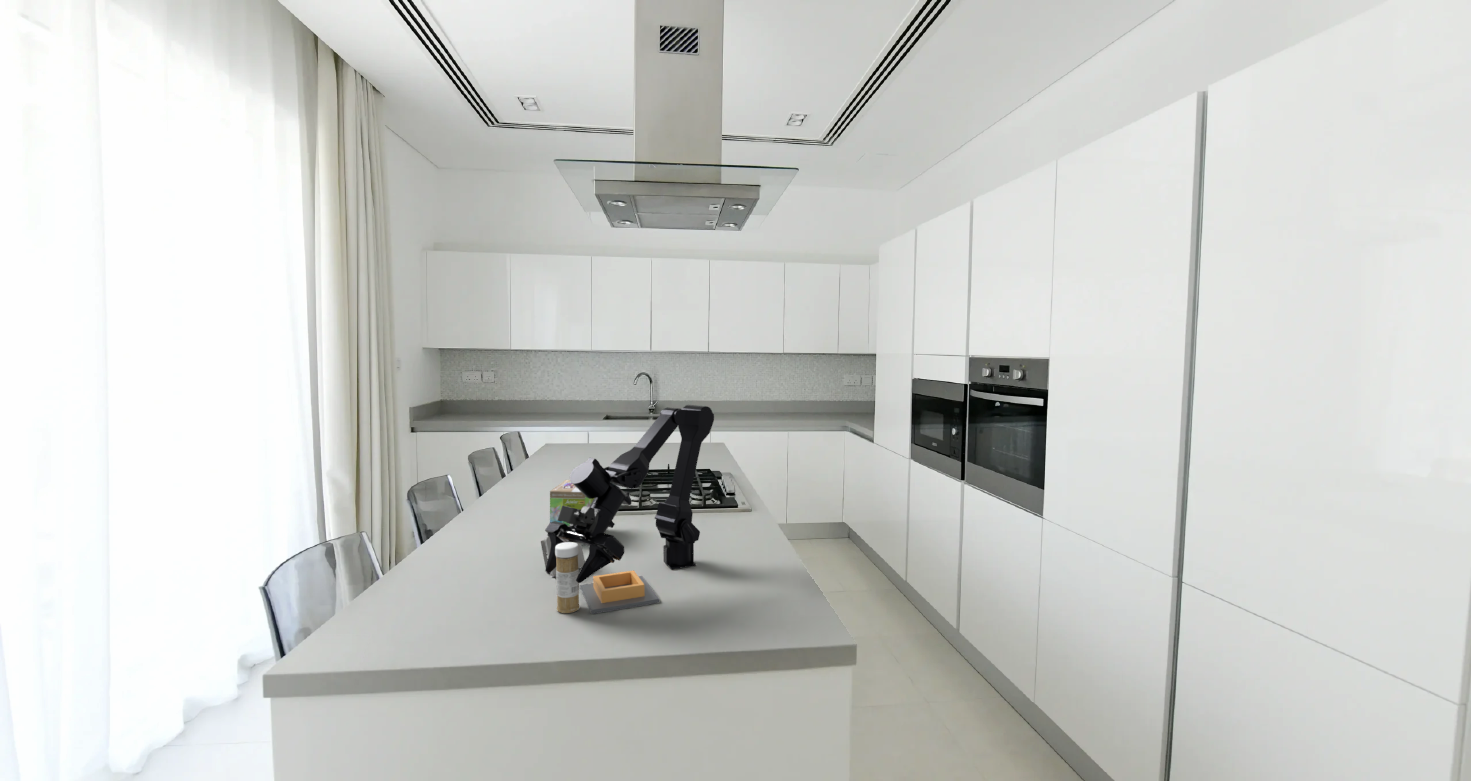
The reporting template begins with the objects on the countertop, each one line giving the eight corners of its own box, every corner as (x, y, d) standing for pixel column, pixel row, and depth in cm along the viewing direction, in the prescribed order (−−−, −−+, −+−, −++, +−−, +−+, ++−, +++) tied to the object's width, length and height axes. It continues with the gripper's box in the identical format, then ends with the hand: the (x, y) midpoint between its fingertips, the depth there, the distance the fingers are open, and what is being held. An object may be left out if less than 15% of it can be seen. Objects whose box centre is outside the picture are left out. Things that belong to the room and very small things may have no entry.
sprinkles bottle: (571, 602, 131) (570, 539, 130) (584, 609, 127) (583, 544, 126) (552, 609, 127) (550, 544, 126) (564, 616, 124) (563, 550, 123)
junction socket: (642, 579, 144) (641, 564, 143) (659, 602, 131) (659, 587, 131) (579, 588, 138) (579, 573, 138) (591, 613, 125) (591, 597, 125)
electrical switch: (553, 578, 144) (549, 538, 144) (540, 575, 147) (536, 536, 147) (586, 567, 151) (583, 528, 151) (573, 564, 155) (570, 527, 154)
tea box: (586, 545, 167) (585, 490, 166) (548, 545, 167) (547, 490, 166) (599, 528, 182) (598, 478, 181) (565, 528, 182) (563, 478, 181)
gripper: (551, 483, 134) (508, 548, 126) (613, 496, 123) (570, 567, 115) (580, 511, 141) (541, 574, 133) (641, 525, 131) (603, 594, 122)
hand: (562, 576), depth 126 cm, fingers open, 9 cm apart
